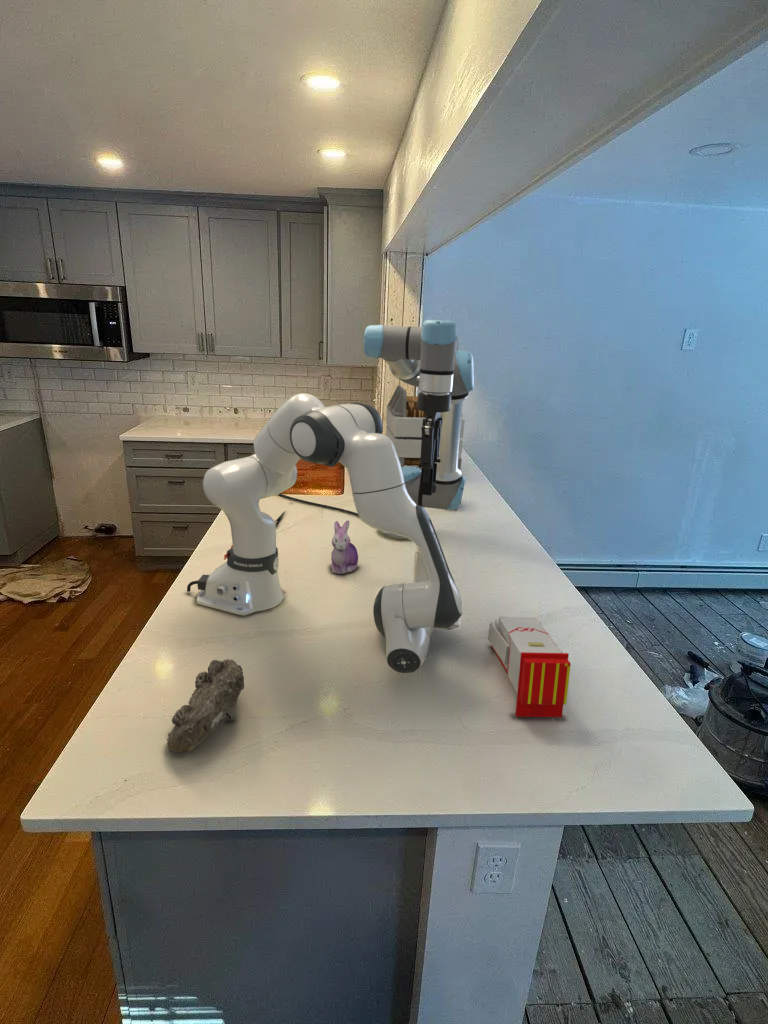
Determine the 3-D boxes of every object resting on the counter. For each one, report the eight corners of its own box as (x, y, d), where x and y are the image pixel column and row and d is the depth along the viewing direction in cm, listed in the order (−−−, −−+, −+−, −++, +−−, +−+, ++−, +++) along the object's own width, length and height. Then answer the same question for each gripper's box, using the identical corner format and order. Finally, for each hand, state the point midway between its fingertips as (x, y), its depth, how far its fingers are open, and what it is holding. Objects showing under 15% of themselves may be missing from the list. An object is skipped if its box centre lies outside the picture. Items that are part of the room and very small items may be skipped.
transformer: (382, 463, 289) (386, 382, 275) (445, 464, 293) (451, 384, 279) (390, 482, 257) (394, 392, 243) (460, 483, 261) (468, 394, 247)
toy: (534, 602, 136) (579, 659, 107) (529, 653, 139) (572, 723, 110) (484, 601, 136) (516, 658, 107) (480, 652, 139) (510, 722, 109)
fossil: (192, 660, 117) (244, 628, 112) (224, 691, 120) (276, 661, 115) (142, 746, 98) (202, 712, 93) (182, 779, 101) (242, 748, 96)
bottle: (408, 623, 144) (414, 536, 136) (412, 614, 148) (418, 530, 140) (425, 626, 142) (432, 539, 134) (429, 617, 146) (436, 532, 138)
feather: (291, 505, 226) (294, 501, 225) (275, 529, 199) (277, 524, 199) (288, 503, 226) (290, 499, 225) (270, 526, 199) (273, 522, 199)
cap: (439, 491, 135) (439, 483, 135) (428, 494, 133) (429, 486, 132) (426, 487, 138) (427, 479, 137) (416, 490, 135) (416, 482, 134)
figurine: (336, 577, 165) (336, 529, 160) (323, 563, 174) (323, 517, 169) (365, 572, 170) (367, 525, 164) (351, 558, 178) (352, 514, 173)
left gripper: (460, 617, 128) (463, 589, 141) (371, 605, 131) (382, 579, 144) (457, 641, 130) (461, 611, 143) (370, 629, 133) (381, 601, 146)
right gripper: (425, 386, 136) (419, 480, 144) (410, 396, 120) (404, 500, 129) (456, 389, 134) (448, 483, 142) (445, 399, 119) (436, 504, 127)
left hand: (421, 595), depth 144 cm, fingers closed on bottle, 4 cm apart
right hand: (427, 491), depth 135 cm, fingers closed on cap, 4 cm apart
